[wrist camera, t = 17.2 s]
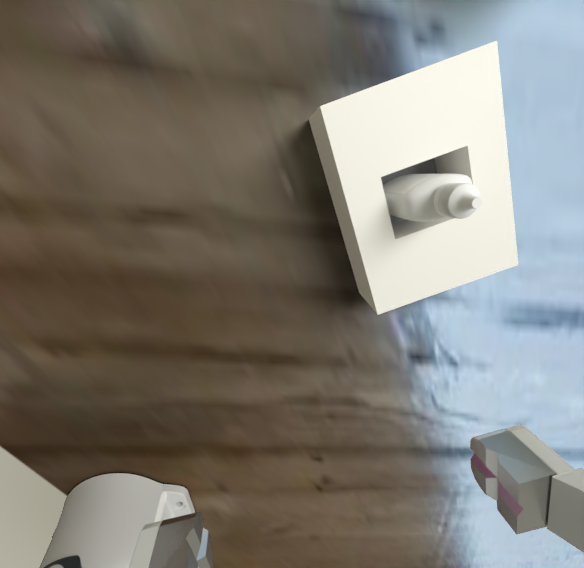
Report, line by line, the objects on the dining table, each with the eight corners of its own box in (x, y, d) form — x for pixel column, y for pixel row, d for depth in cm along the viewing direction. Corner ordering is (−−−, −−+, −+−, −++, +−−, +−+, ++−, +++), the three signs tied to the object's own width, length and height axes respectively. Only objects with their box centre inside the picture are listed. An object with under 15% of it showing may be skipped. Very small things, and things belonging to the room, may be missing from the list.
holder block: (477, 250, 35) (518, 264, 30) (359, 292, 36) (377, 314, 30) (451, 66, 29) (496, 40, 24) (308, 119, 30) (320, 106, 24)
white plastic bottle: (381, 164, 31) (450, 158, 20) (433, 177, 32) (528, 178, 21) (368, 209, 32) (427, 227, 21) (418, 220, 33) (500, 243, 22)
